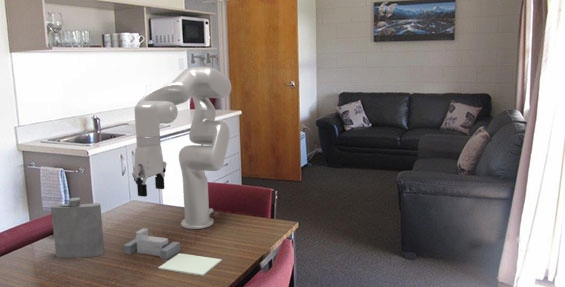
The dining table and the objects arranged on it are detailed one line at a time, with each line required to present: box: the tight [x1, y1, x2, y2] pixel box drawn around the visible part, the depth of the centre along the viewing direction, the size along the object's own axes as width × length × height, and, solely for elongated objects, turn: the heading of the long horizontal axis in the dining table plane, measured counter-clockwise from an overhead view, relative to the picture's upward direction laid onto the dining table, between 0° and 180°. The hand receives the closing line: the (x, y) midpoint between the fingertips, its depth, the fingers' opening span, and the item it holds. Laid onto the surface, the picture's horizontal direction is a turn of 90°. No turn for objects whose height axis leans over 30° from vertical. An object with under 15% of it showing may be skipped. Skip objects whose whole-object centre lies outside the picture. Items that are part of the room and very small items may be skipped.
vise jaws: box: [123, 238, 181, 261], centre depth 171 cm, size 8×17×3 cm, turn 69°
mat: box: [158, 252, 223, 277], centre depth 161 cm, size 12×16×1 cm
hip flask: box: [50, 197, 106, 259], centre depth 169 cm, size 16×4×20 cm, turn 93°
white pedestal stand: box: [135, 228, 170, 257], centre depth 171 cm, size 4×10×8 cm, turn 69°
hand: (151, 192), depth 167 cm, fingers open, 9 cm apart
